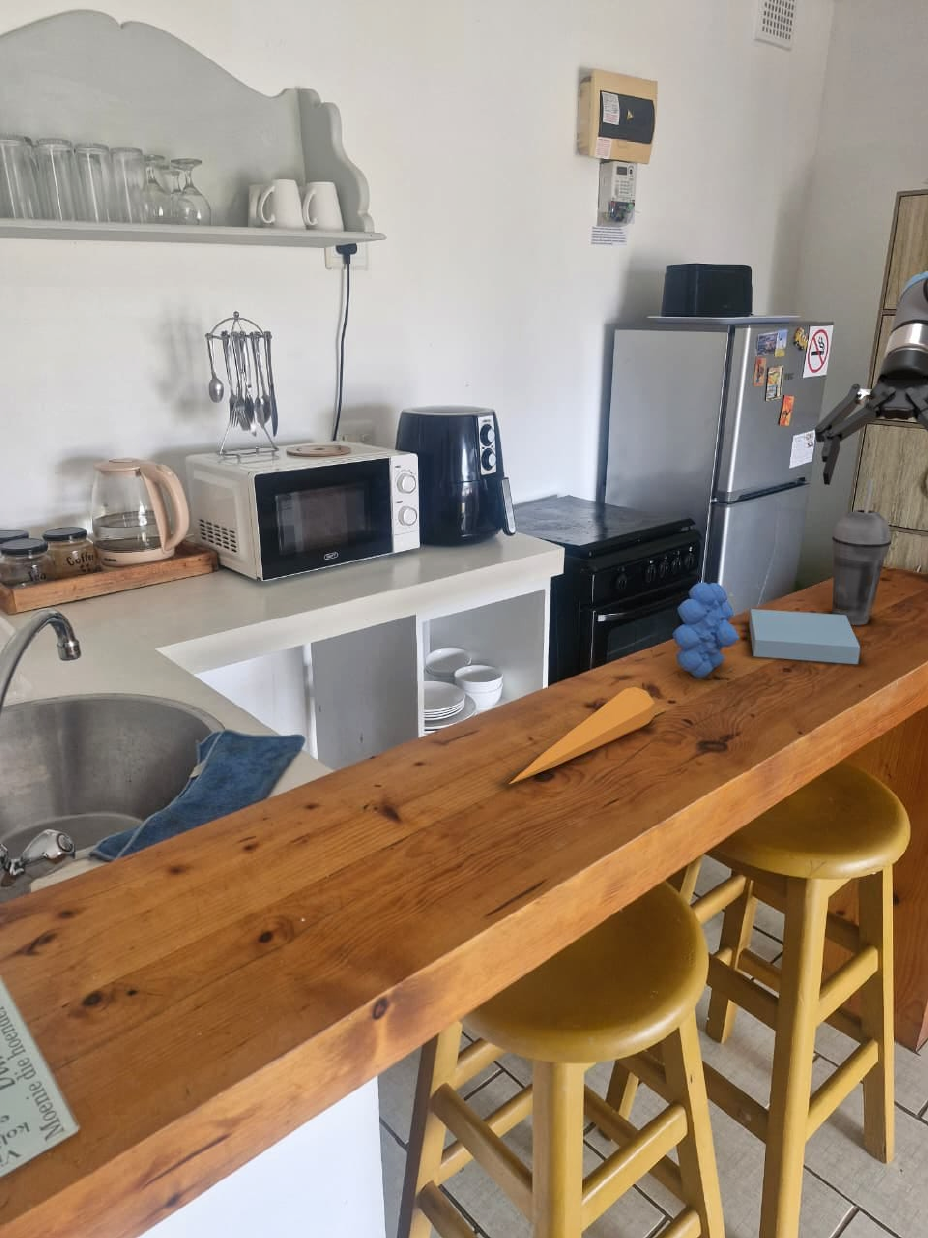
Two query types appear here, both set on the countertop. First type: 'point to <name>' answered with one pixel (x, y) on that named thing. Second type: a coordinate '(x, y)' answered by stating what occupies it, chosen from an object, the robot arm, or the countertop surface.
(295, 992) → the countertop surface
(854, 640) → the foam pad
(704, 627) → the grapes
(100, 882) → the countertop surface
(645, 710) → the carrot
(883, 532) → the beverage cup
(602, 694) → the countertop surface
